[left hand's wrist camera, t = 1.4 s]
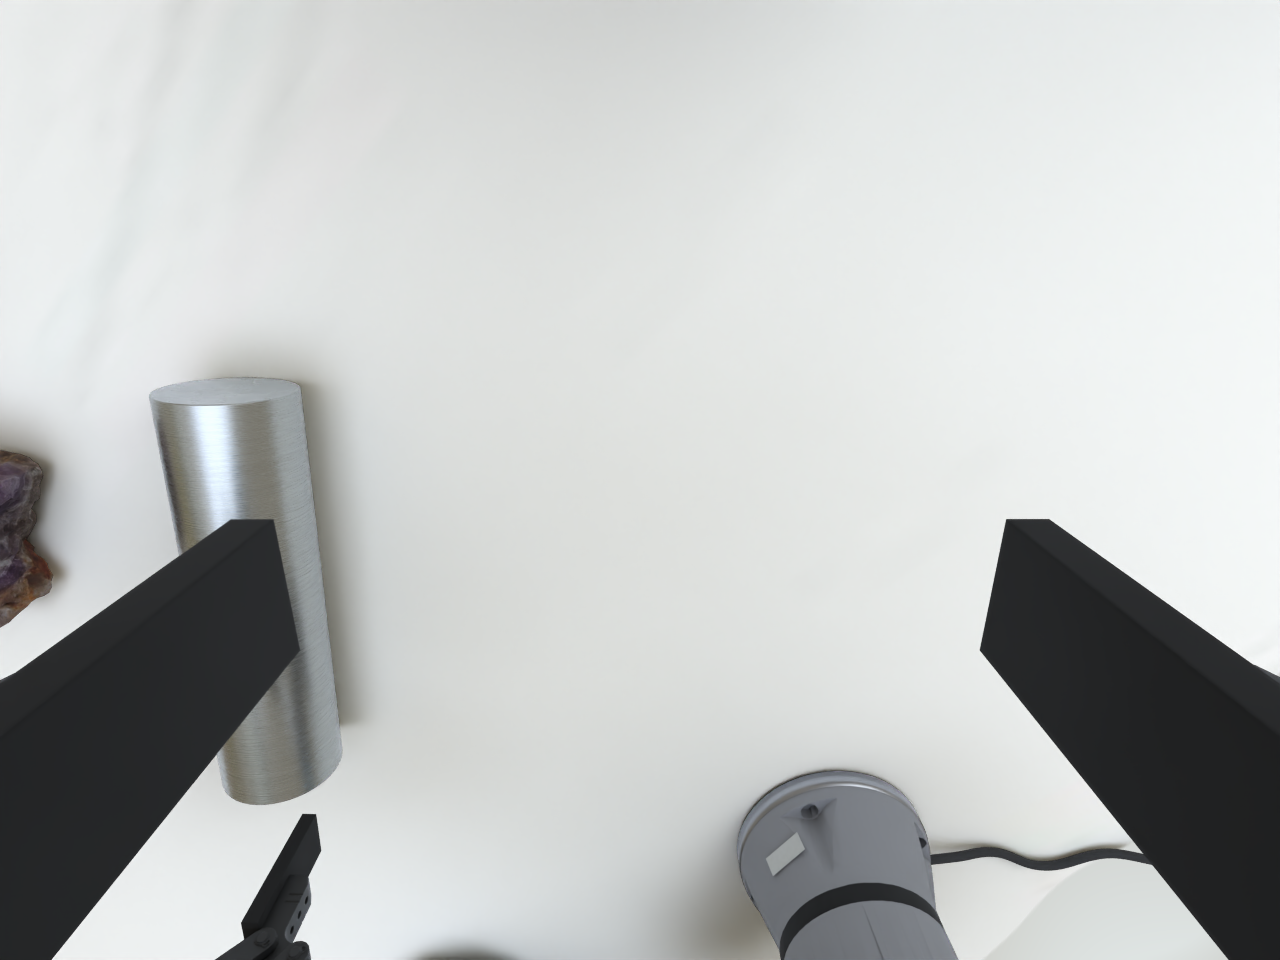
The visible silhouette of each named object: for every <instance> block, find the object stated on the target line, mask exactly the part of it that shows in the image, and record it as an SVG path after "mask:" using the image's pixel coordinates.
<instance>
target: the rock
mask: <svg viewBox="0 0 1280 960" xmlns="http://www.w3.org/2000/svg"><path fill="white" fill-rule="evenodd" d="M42 477H43V474H42V470H41V468H40V467H39V465H38V464H37V463H35V462H33V461H32V460H31V459H30V458H29V457H27V456H24V455H22V454H17V453H12V452H7V451H2V450H0V627H2V626H4V625H5V624H7V623H9V622H10V621H11V620H12V619H13V618H14V617H15V616H16V615H17V614H19V613H20V612H21V611H22V610H23V609H25V608H26V607H27V606H28V605H29V604H30V603H31V602H32V601H33V600H35V599H36V598H38V597H42V596H44V595H46V594H48V593H49V592H50V589H51V588H52V584H51V580H52V577H53V574H52V572H51V571H50V569H49V568H48V564H47V563H46V561H45V560H44V559H43V558H41V557H40V556H38V555H37V554H36V553H35V552H33V550H34V548H35V547H34V546H33V545H31V544H30V543H29V542H28V541H27V539H26V538H27V537H28V536H29V534H30V533H31V531H32V529H33V527H34V525H35V523H36V514H35V512H34V511H33V510H32V509H31V508H32V506H33V504H34V502H35V501H36V500H38V499H40V486H39V484H40V482H41V480H42Z"/></svg>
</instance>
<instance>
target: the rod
mask: <svg viewBox="0 0 1280 960" xmlns="http://www.w3.org/2000/svg"><path fill="white" fill-rule="evenodd" d="M149 399H150V404H151V410H152V415H153V420H154V425H155V431H156V436H157V441H158V447H159V452H160V457H161V462H162V468H163V473H164V478H165V483H166V489H167V494H168V499H169V505H170V510H171V515H172V520H173V526H174V531H175V536H176V541H177V547H178V552H179V556H180V555H181V554H183V553H184V552H186V551H187V550H188V549H190V548H191V547H193V546H194V545H195V544H197V543H198V542H200V541H201V540H202V539H204V538H205V537H207V536H208V535H210V534H211V533H212V532H214V531H215V530H217V529H218V528H219V527H221V526H222V525H224V524H225V523H226V522H228V521H229V520H231V519H274V523H275V528H276V533H277V538H278V543H279V548H280V553H281V558H282V563H283V568H284V573H285V578H286V583H287V588H288V593H289V597H290V602H291V607H292V612H293V617H294V622H295V627H296V632H297V637H298V642H299V647H300V651H299V652H298V654H297V655H296V656H295V657H294V659H293V660H292V661H291V662H290V664H289V665H288V666H287V667H286V669H285V670H284V671H283V672H282V674H281V675H280V676H279V677H278V679H277V680H276V681H275V682H274V683H273V685H272V686H271V687H270V688H269V690H268V691H267V692H266V693H265V695H264V696H263V697H262V698H261V700H260V701H259V702H258V703H257V705H256V706H255V707H254V708H253V710H252V711H251V712H250V713H249V715H248V716H247V717H246V718H245V720H244V721H243V722H242V723H241V725H240V726H239V727H238V728H237V730H236V731H235V732H234V733H233V734H232V736H231V737H230V738H229V739H228V741H227V742H226V743H225V744H224V746H223V747H222V748H221V749H220V751H219V752H218V753H217V758H218V763H219V768H220V774H221V779H222V784H223V788H224V790H225V792H226V793H227V794H228V795H229V796H230V797H231V798H233V799H235V800H236V801H239V802H242V803H246V804H252V805H267V804H274V803H279V802H284V801H287V800H290V799H293V798H296V797H298V796H301V795H303V794H305V793H307V792H309V791H311V790H312V789H314V788H316V787H317V786H319V785H320V784H321V783H322V782H324V781H325V780H326V779H327V778H328V777H329V776H330V775H331V774H332V773H333V772H334V771H335V769H336V768H337V766H338V764H339V762H340V760H341V757H342V743H341V734H340V725H339V717H338V708H337V699H336V691H335V682H334V673H333V665H332V656H331V647H330V639H329V630H328V621H327V613H326V604H325V595H324V586H323V578H322V569H321V560H320V552H319V543H318V534H317V526H316V517H315V508H314V500H313V491H312V482H311V474H310V465H309V456H308V448H307V439H306V430H305V422H304V413H303V404H302V395H301V387H300V386H299V385H298V384H296V383H293V382H290V381H285V380H279V379H270V378H219V379H206V380H197V381H189V382H183V383H178V384H173V385H168V386H165V387H162V388H159V389H156V390H154V391H152V392H151V393H150V394H149Z"/></svg>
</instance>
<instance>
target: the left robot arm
mask: <svg viewBox="0 0 1280 960" xmlns="http://www.w3.org/2000/svg"><path fill="white" fill-rule="evenodd" d="M299 651H300V647H299V642H298V637H297V632H296V627H295V622H294V617H293V612H292V607H291V602H290V597H289V593H288V588H287V583H286V578H285V573H284V568H283V563H282V558H281V553H280V548H279V543H278V538H277V533H276V528H275V523H274V519H231V520H229V521H228V522H226V523H225V524H224V525H222V526H221V527H219V528H218V529H217V530H215V531H214V532H212V533H211V534H210V535H208V536H207V537H205V538H204V539H202V540H201V541H200V542H198V543H197V544H195V545H194V546H193V547H191V548H190V549H188V550H187V551H186V552H184V553H183V554H181V555H180V556H179V557H177V558H176V559H174V560H173V561H172V562H170V563H169V564H167V565H166V566H165V567H163V568H162V569H160V570H159V571H158V572H156V573H155V574H153V575H152V576H151V577H149V578H148V579H146V580H145V581H144V582H142V583H141V584H139V585H138V586H137V587H135V588H134V589H132V590H131V591H130V592H128V593H127V594H125V595H124V596H123V597H121V598H120V599H118V600H117V601H116V602H114V603H113V604H111V605H110V606H109V607H107V608H106V609H104V610H103V611H101V612H100V613H99V614H97V615H96V616H94V617H93V618H92V619H90V620H89V621H87V622H86V623H85V624H83V625H82V626H80V627H79V628H78V629H76V630H75V631H73V632H72V633H71V634H69V635H68V636H66V637H65V638H64V639H62V640H61V641H59V642H58V643H57V644H55V645H54V646H52V647H51V648H50V649H48V650H47V651H45V652H44V653H43V654H41V655H40V656H38V657H37V658H36V659H34V660H33V661H31V662H30V663H29V664H27V665H26V666H24V667H23V668H22V669H20V670H19V671H17V672H16V673H14V674H12V675H10V676H8V677H6V678H4V679H2V680H0V960H52V958H53V957H54V956H55V955H56V953H57V952H58V951H59V950H60V948H61V947H62V946H63V945H64V943H65V942H66V941H67V940H68V939H69V937H70V936H71V935H72V934H73V932H74V931H75V930H76V929H77V927H78V926H79V925H80V924H81V922H82V921H83V920H84V919H85V917H86V916H87V915H88V914H89V912H90V911H91V910H92V909H93V907H94V906H95V905H96V904H97V902H98V901H99V900H100V899H101V897H102V896H103V895H104V894H105V892H106V891H107V890H108V889H109V888H110V886H111V885H112V884H113V883H114V881H115V880H116V879H117V878H118V876H119V875H120V874H121V873H122V871H123V870H124V869H125V868H126V866H127V865H128V864H129V863H130V861H131V860H132V859H133V858H134V856H135V855H136V854H137V853H138V851H139V850H140V849H141V848H142V846H143V845H144V844H145V843H146V841H147V840H148V839H149V838H150V837H151V835H152V834H153V833H154V832H155V830H156V829H157V828H158V827H159V825H160V824H161V823H162V822H163V820H164V819H165V818H166V817H167V815H168V814H169V813H170V812H171V810H172V809H173V808H174V807H175V805H176V804H177V803H178V802H179V800H180V799H181V798H182V797H183V795H184V794H185V793H186V792H187V790H188V789H189V788H190V787H191V786H192V784H193V783H194V782H195V781H196V779H197V778H198V777H199V776H200V774H201V773H202V772H203V771H204V769H205V768H206V767H207V766H208V764H209V763H210V762H211V761H212V759H213V758H214V757H215V756H216V754H217V753H218V752H219V751H220V749H221V748H222V747H223V746H224V744H225V743H226V742H227V741H228V739H229V738H230V737H231V736H232V734H233V733H234V732H235V731H236V730H237V728H238V727H239V726H240V725H241V723H242V722H243V721H244V720H245V718H246V717H247V716H248V715H249V713H250V712H251V711H252V710H253V708H254V707H255V706H256V705H257V703H258V702H259V701H260V700H261V698H262V697H263V696H264V695H265V693H266V692H267V691H268V690H269V688H270V687H271V686H272V685H273V683H274V682H275V681H276V680H277V679H278V677H279V676H280V675H281V674H282V672H283V671H284V670H285V669H286V667H287V666H288V665H289V664H290V662H291V661H292V660H293V659H294V657H295V656H296V655H297V654H298V652H299ZM980 651H981V652H982V654H983V655H984V656H985V657H986V659H987V660H988V661H989V662H990V664H991V665H992V666H993V667H994V669H995V670H996V671H997V672H998V674H999V675H1000V676H1001V677H1002V679H1003V680H1004V681H1005V682H1006V684H1007V685H1008V686H1009V687H1010V688H1011V690H1012V691H1013V692H1014V693H1015V695H1016V696H1017V697H1018V698H1019V700H1020V701H1021V702H1022V703H1023V705H1024V706H1025V707H1026V708H1027V710H1028V711H1029V712H1030V713H1031V715H1032V716H1033V717H1034V718H1035V720H1036V721H1037V722H1038V723H1039V725H1040V726H1041V727H1042V728H1043V730H1044V731H1045V732H1046V733H1047V735H1048V736H1049V737H1050V738H1051V739H1052V741H1053V742H1054V743H1055V744H1056V746H1057V747H1058V748H1059V749H1060V751H1061V752H1062V753H1063V754H1064V756H1065V757H1066V758H1067V759H1068V761H1069V762H1070V763H1071V764H1072V766H1073V767H1074V768H1075V769H1076V771H1077V772H1078V773H1079V774H1080V776H1081V777H1082V778H1083V779H1084V781H1085V782H1086V783H1087V784H1088V786H1089V787H1090V788H1091V789H1092V790H1093V792H1094V793H1095V794H1096V795H1097V797H1098V798H1099V799H1100V800H1101V802H1102V803H1103V804H1104V805H1105V807H1106V808H1107V809H1108V810H1109V812H1110V813H1111V814H1112V815H1113V817H1114V818H1115V819H1116V820H1117V822H1118V823H1119V824H1120V825H1121V827H1122V828H1123V829H1124V830H1125V832H1126V833H1127V834H1128V835H1129V837H1130V838H1131V839H1132V840H1133V841H1134V843H1135V844H1136V845H1137V846H1138V848H1139V849H1140V850H1141V851H1142V853H1143V854H1144V855H1145V856H1146V858H1147V859H1148V860H1149V861H1150V863H1151V864H1152V865H1153V866H1154V868H1155V869H1156V870H1157V871H1158V873H1159V874H1160V875H1161V876H1162V878H1163V879H1164V880H1165V881H1166V882H1167V884H1168V885H1169V886H1170V888H1171V889H1172V890H1173V891H1174V892H1175V894H1176V895H1177V896H1178V897H1179V899H1180V900H1181V901H1182V902H1183V904H1184V905H1185V906H1186V907H1187V909H1188V910H1189V911H1190V912H1191V914H1192V915H1193V916H1194V917H1195V919H1196V920H1197V921H1198V922H1199V924H1200V925H1201V926H1202V927H1203V929H1204V930H1205V931H1206V932H1207V934H1208V935H1209V936H1210V937H1211V939H1212V940H1213V941H1214V942H1215V943H1216V945H1217V946H1218V947H1219V948H1220V950H1221V951H1222V952H1223V953H1224V955H1225V956H1226V957H1227V958H1228V960H1280V677H1279V676H1276V675H1274V674H1272V673H1270V672H1268V671H1266V670H1264V669H1262V668H1260V667H1258V666H1256V665H1253V664H1251V663H1250V662H1249V661H1247V660H1246V659H1244V658H1243V657H1242V656H1240V655H1239V654H1237V653H1236V652H1235V651H1233V650H1232V649H1230V648H1229V647H1228V646H1226V645H1225V644H1223V643H1222V642H1221V641H1219V640H1218V639H1216V638H1215V637H1214V636H1212V635H1211V634H1209V633H1208V632H1207V631H1205V630H1204V629H1202V628H1201V627H1200V626H1198V625H1197V624H1195V623H1194V622H1193V621H1191V620H1190V619H1188V618H1187V617H1186V616H1184V615H1183V614H1181V613H1180V612H1178V611H1177V610H1176V609H1174V608H1173V607H1171V606H1170V605H1169V604H1167V603H1166V602H1164V601H1163V600H1162V599H1160V598H1159V597H1157V596H1156V595H1155V594H1153V593H1152V592H1150V591H1149V590H1148V589H1146V588H1145V587H1143V586H1142V585H1141V584H1139V583H1138V582H1136V581H1135V580H1134V579H1132V578H1131V577H1129V576H1128V575H1127V574H1125V573H1124V572H1122V571H1121V570H1120V569H1118V568H1117V567H1115V566H1114V565H1113V564H1111V563H1110V562H1108V561H1107V560H1106V559H1104V558H1103V557H1101V556H1100V555H1099V554H1097V553H1096V552H1094V551H1093V550H1092V549H1090V548H1089V547H1087V546H1086V545H1085V544H1083V543H1082V542H1080V541H1079V540H1078V539H1076V538H1075V537H1073V536H1072V535H1070V534H1069V533H1068V532H1066V531H1065V530H1063V529H1062V528H1061V527H1059V526H1058V525H1056V524H1055V523H1054V522H1052V521H1051V520H1049V519H1006V523H1005V528H1004V533H1003V538H1002V543H1001V548H1000V553H999V558H998V563H997V568H996V573H995V578H994V583H993V588H992V592H991V597H990V602H989V607H988V612H987V617H986V622H985V627H984V632H983V637H982V642H981V647H980Z"/></svg>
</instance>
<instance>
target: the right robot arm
mask: <svg viewBox="0 0 1280 960" xmlns="http://www.w3.org/2000/svg"><path fill="white" fill-rule="evenodd" d="M320 852H321V846H320V839H319V831H318V824H317V817H316V814H302V816H301V818H300V819H299V821H298V823H297V825H296V826H295V828H294V830H293V832H292V834H291V835H290V837H289V839H288V841H287V842H286V844H285V846H284V848H283V850H282V851H281V853H280V855H279V857H278V858H277V860H276V862H275V864H274V865H273V867H272V869H271V871H270V873H269V874H268V876H267V878H266V880H265V881H264V883H263V885H262V887H261V888H260V890H259V892H258V894H257V896H256V897H255V899H254V901H253V903H252V904H251V906H250V908H249V910H248V912H247V913H246V915H245V917H244V919H243V920H242V922H241V925H242V930H243V935H244V940H243V941H242V942H240V943H239V944H237V945H236V946H234V947H233V948H231V949H230V950H229V951H227V952H226V953H224V954H223V955H221V956H220V957H218V958H217V959H215V960H311V956H310V951H309V945H308V944H307V943H306V942H303V941H297V942H294V943H293V941H294V939H295V937H296V934H297V932H298V930H299V928H300V926H301V924H302V921H303V920H304V918H305V915H306V913H307V911H308V909H309V907H310V905H311V891H310V884H309V878H308V876H309V874H310V872H311V870H312V868H313V866H314V864H315V862H316V860H317V858H318V856H319V854H320ZM737 855H738V861H739V867H740V873H741V878H742V881H743V884H744V886H745V888H746V891H747V893H748V895H749V897H750V899H751V900H752V902H753V904H754V905H755V907H756V908H757V909H758V910H759V912H760V914H761V916H762V918H763V920H764V922H765V924H766V925H767V927H768V929H769V931H770V933H771V935H772V937H773V939H774V941H775V943H776V944H777V946H778V949H779V952H780V957H781V960H958V958H957V956H956V954H955V951H954V949H953V947H952V945H951V943H950V940H949V938H948V936H947V934H946V932H945V930H944V928H943V926H942V923H941V921H940V919H939V916H938V914H937V912H936V906H935V896H934V886H933V875H932V868H931V865H933V864H942V863H951V862H959V861H966V860H971V859H975V858H980V857H999V858H1003V859H1006V860H1009V861H1011V862H1014V863H1016V864H1018V865H1021V866H1024V867H1027V868H1030V869H1035V870H1044V871H1050V870H1059V869H1064V868H1068V867H1072V866H1075V865H1079V864H1082V863H1085V862H1089V861H1093V860H1097V859H1104V858H1118V859H1126V860H1132V861H1137V862H1141V863H1146V864H1151V863H1150V861H1149V860H1148V859H1147V858H1146V856H1145V855H1144V854H1141V853H1136V852H1131V851H1126V850H1119V849H1097V850H1091V851H1086V852H1083V853H1079V854H1076V855H1073V856H1069V857H1066V858H1063V859H1058V860H1053V861H1035V860H1030V859H1027V858H1024V857H1022V856H1019V855H1017V854H1015V853H1012V852H1010V851H1007V850H1003V849H999V848H992V847H981V848H974V849H969V850H964V851H959V852H951V853H942V854H933V855H930V848H929V843H928V839H927V835H926V832H925V829H924V827H923V825H922V823H921V821H920V819H919V817H918V815H917V813H916V811H915V809H914V807H913V805H912V804H911V802H910V801H909V800H908V799H907V798H906V796H905V795H903V794H902V793H901V792H900V791H899V790H898V789H896V788H895V787H894V786H892V785H890V784H889V783H887V782H885V781H883V780H881V779H878V778H876V777H873V776H870V775H866V774H862V773H857V772H848V771H828V772H820V773H814V774H810V775H806V776H802V777H799V778H796V779H794V780H791V781H789V782H787V783H785V784H783V785H781V786H779V787H778V788H776V789H774V790H773V791H771V792H770V793H769V794H767V795H766V796H765V797H764V798H762V799H761V800H760V801H759V802H758V803H757V804H756V805H755V806H754V807H753V809H752V810H751V811H750V813H749V814H748V816H747V817H746V819H745V821H744V823H743V825H742V827H741V830H740V833H739V837H738V843H737ZM1151 865H1152V864H1151Z"/></svg>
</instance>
